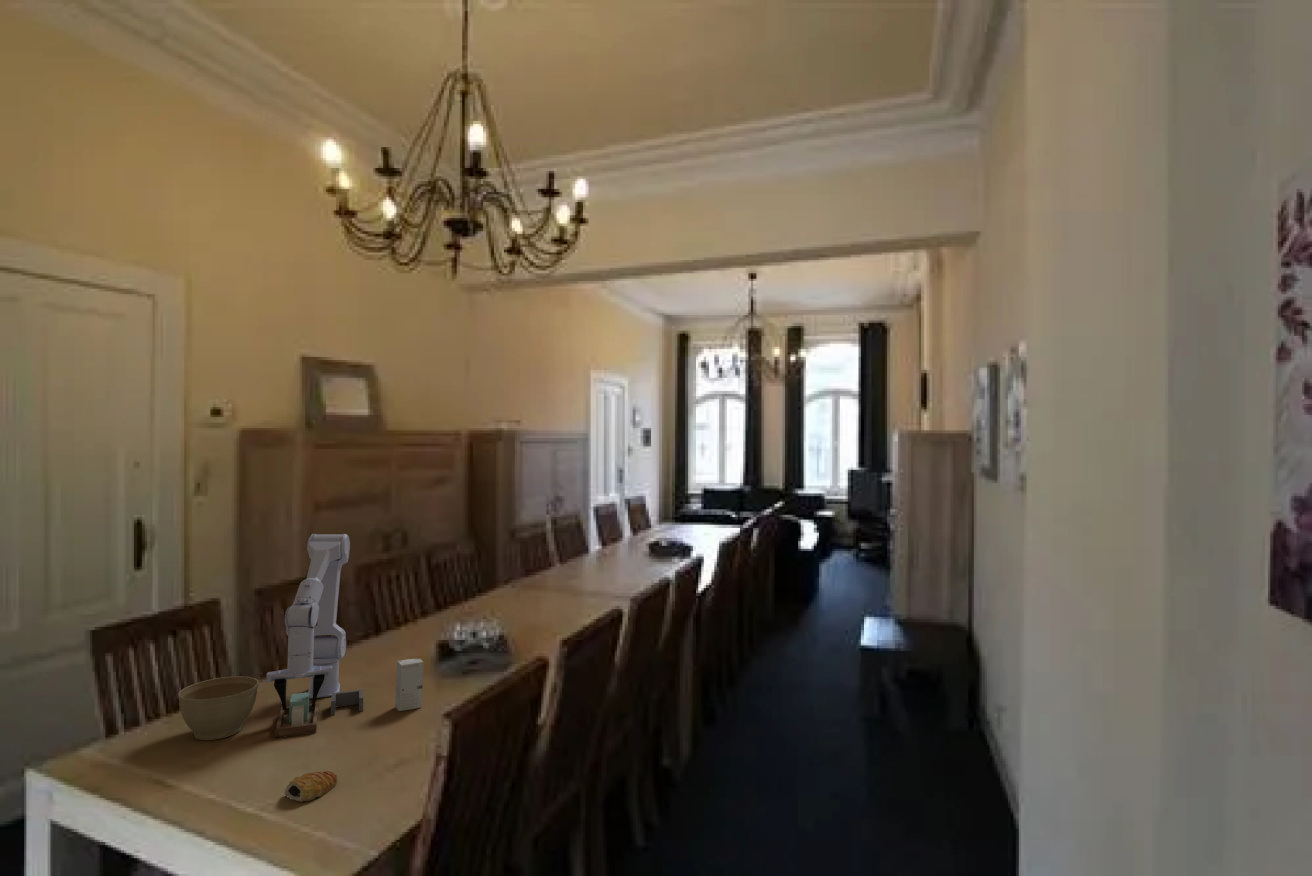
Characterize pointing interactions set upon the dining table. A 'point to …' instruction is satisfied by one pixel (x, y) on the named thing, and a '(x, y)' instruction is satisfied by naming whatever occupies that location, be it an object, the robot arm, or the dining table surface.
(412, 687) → the skincare box
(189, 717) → the planter bowl
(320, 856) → the dining table surface
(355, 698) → the bay
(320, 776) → the pastry
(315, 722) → the tray
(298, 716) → the stacked two-tone block
